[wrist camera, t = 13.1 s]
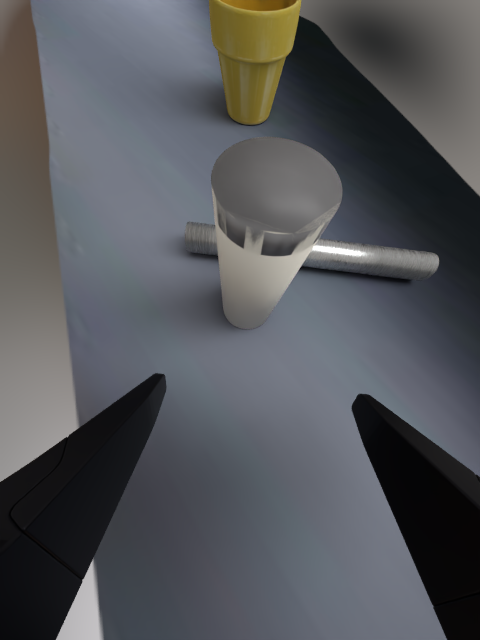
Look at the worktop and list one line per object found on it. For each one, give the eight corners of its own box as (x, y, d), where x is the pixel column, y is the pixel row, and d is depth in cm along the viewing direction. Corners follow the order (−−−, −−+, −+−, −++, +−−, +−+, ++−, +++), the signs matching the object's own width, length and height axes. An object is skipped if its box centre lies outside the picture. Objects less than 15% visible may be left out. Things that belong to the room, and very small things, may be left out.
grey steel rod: (413, 287, 21) (449, 270, 18) (188, 259, 21) (181, 236, 17) (408, 261, 22) (441, 240, 19) (194, 234, 22) (188, 207, 18)
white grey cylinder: (268, 332, 19) (346, 242, 6) (220, 326, 19) (200, 224, 6) (271, 288, 20) (338, 146, 8) (226, 282, 20) (221, 129, 8)
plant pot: (202, 105, 29) (189, -22, 20) (252, 86, 31) (262, -36, 22) (241, 142, 27) (248, 19, 18) (292, 119, 29) (322, -1, 20)
